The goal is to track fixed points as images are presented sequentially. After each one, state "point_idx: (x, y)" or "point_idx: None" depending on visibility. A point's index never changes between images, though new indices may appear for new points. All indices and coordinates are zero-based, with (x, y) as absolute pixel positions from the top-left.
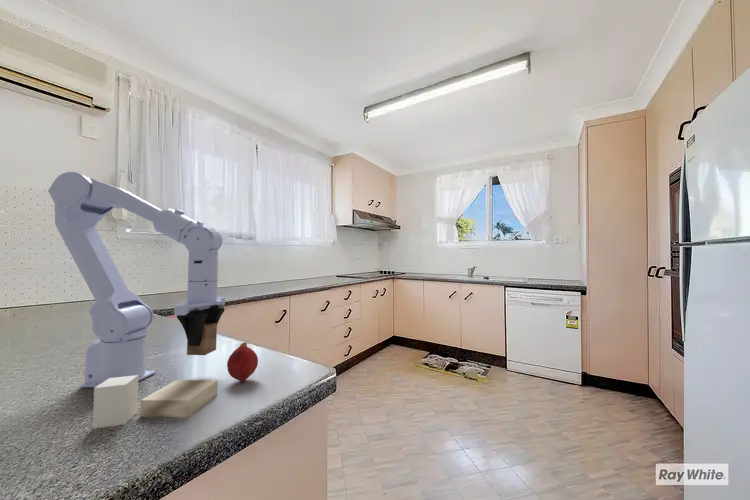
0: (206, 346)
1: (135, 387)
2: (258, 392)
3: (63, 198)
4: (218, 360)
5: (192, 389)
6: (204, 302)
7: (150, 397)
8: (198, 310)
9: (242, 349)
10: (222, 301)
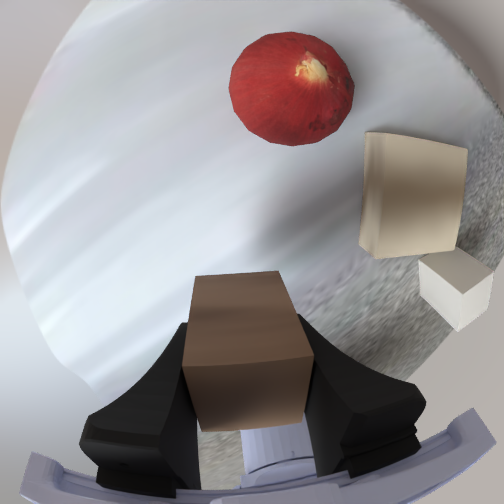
0: (276, 288)
1: (458, 277)
2: (345, 30)
3: None
4: (106, 297)
5: (431, 172)
6: (400, 500)
7: (449, 240)
8: (357, 467)
9: (335, 68)
10: (47, 481)
